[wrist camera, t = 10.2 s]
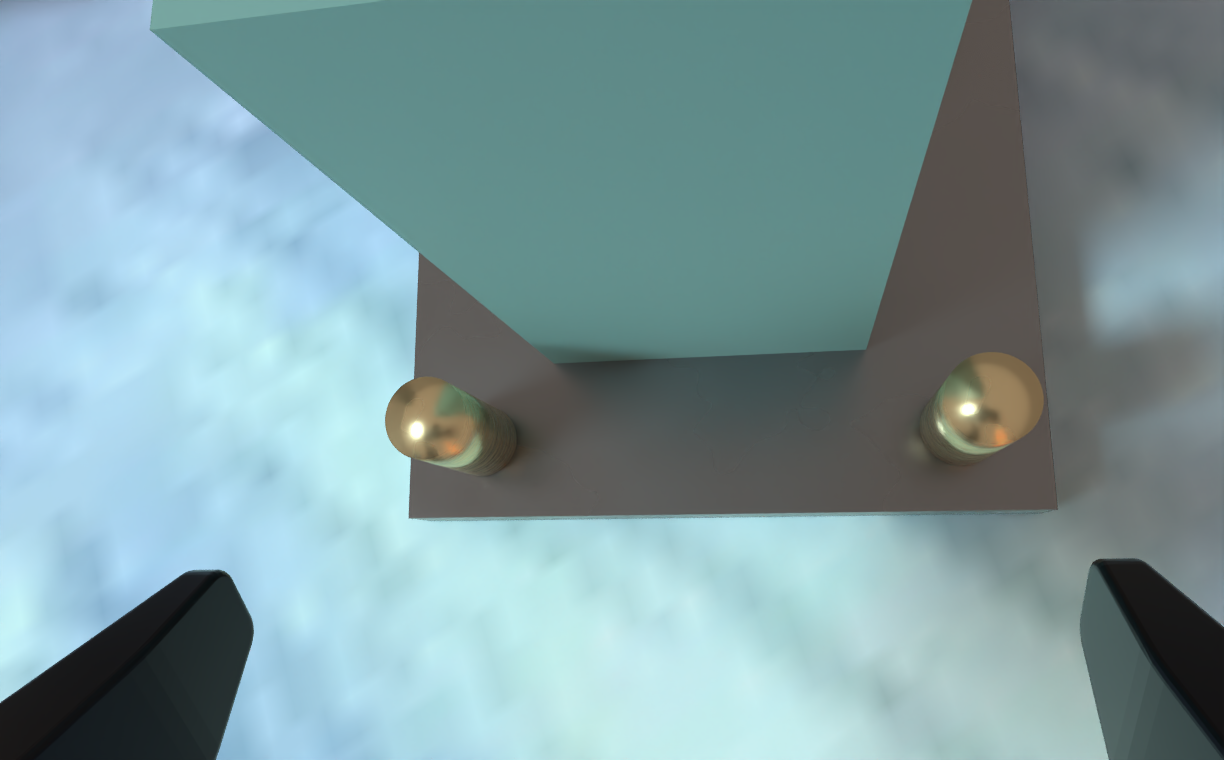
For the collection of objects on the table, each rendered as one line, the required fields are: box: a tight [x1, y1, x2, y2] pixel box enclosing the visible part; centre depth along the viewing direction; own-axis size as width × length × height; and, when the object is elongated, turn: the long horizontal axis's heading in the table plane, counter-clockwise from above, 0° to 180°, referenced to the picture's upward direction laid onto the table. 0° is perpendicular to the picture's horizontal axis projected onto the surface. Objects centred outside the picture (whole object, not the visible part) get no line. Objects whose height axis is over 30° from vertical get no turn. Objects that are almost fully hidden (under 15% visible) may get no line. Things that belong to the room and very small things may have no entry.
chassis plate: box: [385, 0, 1058, 521], centre depth 18 cm, size 12×12×4 cm
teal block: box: [150, 0, 972, 364], centre depth 13 cm, size 6×6×12 cm
